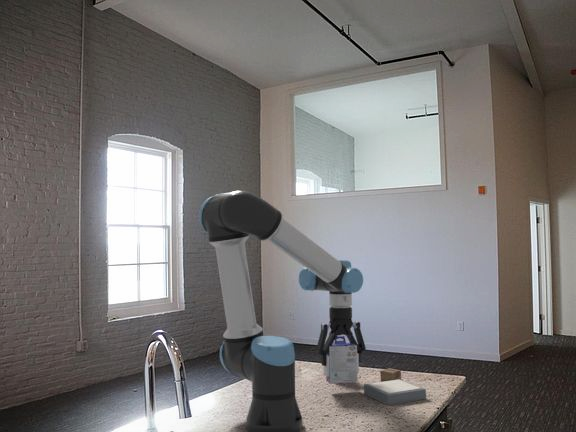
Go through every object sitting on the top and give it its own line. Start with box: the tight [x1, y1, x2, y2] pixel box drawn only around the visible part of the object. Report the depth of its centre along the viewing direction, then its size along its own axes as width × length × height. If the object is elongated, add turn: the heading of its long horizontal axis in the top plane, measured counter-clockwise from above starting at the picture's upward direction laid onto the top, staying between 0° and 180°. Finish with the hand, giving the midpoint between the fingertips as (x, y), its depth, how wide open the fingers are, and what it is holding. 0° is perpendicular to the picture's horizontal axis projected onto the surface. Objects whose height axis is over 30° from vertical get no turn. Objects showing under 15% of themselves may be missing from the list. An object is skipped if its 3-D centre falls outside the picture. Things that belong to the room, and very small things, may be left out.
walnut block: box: [380, 367, 402, 382], centre depth 183 cm, size 5×5×5 cm
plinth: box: [363, 379, 427, 406], centre depth 169 cm, size 14×14×3 cm
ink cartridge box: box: [325, 335, 359, 385], centre depth 175 cm, size 10×6×14 cm, turn 103°
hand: (341, 374), depth 175 cm, fingers closed on ink cartridge box, 10 cm apart
